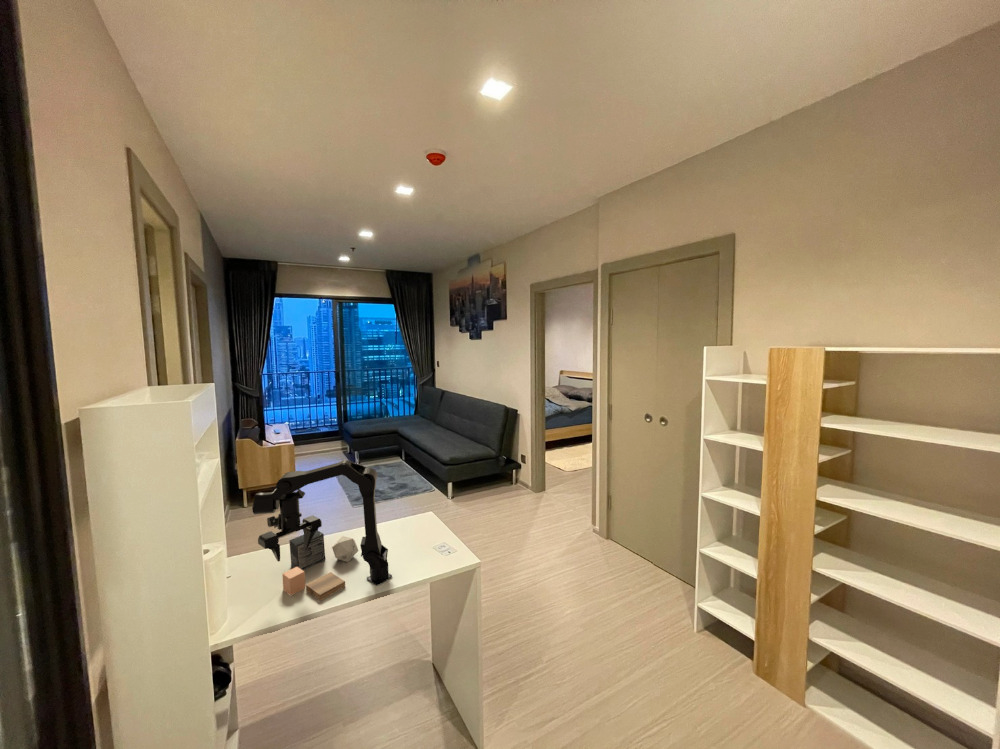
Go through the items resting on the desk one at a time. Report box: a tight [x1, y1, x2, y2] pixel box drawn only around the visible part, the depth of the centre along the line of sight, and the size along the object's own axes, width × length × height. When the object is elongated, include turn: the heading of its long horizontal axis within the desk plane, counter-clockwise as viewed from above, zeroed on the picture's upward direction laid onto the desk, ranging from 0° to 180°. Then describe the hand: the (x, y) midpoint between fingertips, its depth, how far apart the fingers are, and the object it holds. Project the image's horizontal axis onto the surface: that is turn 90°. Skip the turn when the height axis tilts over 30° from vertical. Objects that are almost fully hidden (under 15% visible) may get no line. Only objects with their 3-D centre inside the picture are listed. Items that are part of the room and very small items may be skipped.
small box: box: [288, 529, 327, 571], centre depth 152 cm, size 11×6×10 cm, turn 141°
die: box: [331, 535, 359, 563], centre depth 155 cm, size 8×9×10 cm
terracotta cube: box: [281, 567, 306, 596], centre depth 137 cm, size 5×5×6 cm
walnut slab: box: [305, 571, 346, 601], centre depth 137 cm, size 9×9×2 cm
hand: (292, 554), depth 136 cm, fingers open, 9 cm apart
